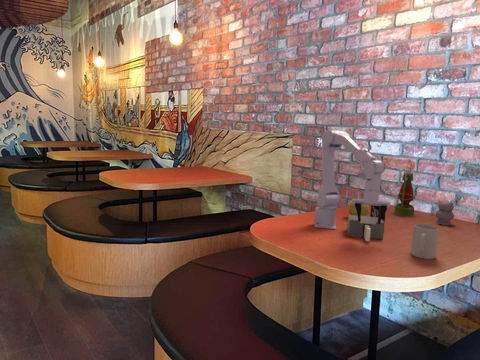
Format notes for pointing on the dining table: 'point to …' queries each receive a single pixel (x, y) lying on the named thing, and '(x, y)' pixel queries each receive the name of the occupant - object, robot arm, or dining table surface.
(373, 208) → the beverage can
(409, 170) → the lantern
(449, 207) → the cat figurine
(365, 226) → the pale narrow strip
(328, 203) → the robot arm
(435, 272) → the dining table surface
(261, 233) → the dining table surface
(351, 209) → the fruit
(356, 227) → the panel
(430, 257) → the mug
